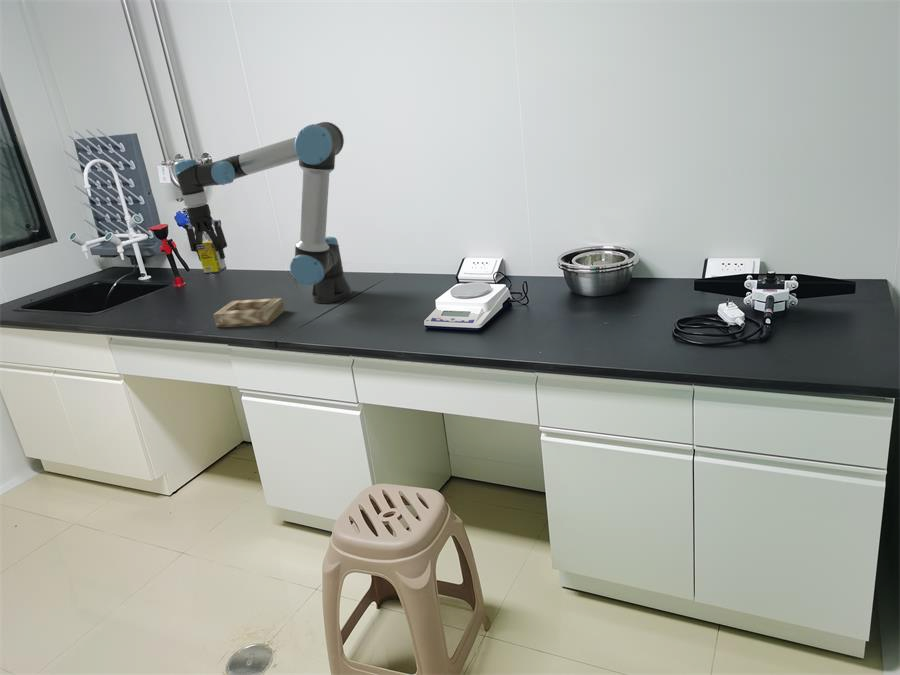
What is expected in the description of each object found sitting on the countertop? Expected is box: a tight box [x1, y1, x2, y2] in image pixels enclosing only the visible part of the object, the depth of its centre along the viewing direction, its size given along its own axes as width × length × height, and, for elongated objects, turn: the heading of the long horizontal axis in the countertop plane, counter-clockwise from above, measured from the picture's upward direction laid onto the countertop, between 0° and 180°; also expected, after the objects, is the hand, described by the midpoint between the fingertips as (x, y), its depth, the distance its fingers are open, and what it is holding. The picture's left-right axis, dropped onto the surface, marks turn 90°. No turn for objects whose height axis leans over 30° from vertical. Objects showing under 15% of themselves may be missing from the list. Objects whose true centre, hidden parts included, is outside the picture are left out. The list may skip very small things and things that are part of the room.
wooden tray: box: [213, 297, 286, 328], centre depth 232 cm, size 20×14×5 cm
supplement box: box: [197, 240, 227, 276], centre depth 233 cm, size 6×6×11 cm
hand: (215, 268), depth 234 cm, fingers closed on supplement box, 6 cm apart
